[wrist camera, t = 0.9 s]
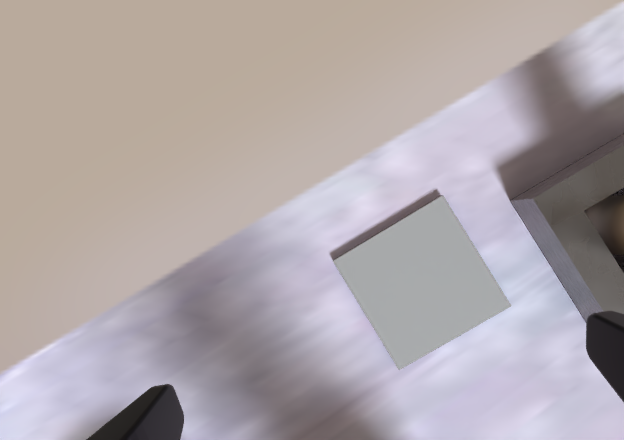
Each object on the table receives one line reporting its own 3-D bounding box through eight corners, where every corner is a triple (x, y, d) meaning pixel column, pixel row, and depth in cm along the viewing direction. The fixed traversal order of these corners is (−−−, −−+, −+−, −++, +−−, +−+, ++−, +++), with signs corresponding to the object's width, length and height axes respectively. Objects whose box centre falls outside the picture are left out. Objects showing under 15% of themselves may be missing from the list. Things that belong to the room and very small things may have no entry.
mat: (507, 304, 22) (511, 306, 22) (397, 366, 23) (399, 370, 22) (440, 195, 22) (443, 195, 22) (332, 260, 23) (332, 261, 22)
